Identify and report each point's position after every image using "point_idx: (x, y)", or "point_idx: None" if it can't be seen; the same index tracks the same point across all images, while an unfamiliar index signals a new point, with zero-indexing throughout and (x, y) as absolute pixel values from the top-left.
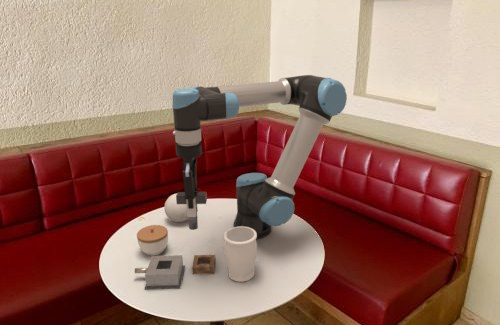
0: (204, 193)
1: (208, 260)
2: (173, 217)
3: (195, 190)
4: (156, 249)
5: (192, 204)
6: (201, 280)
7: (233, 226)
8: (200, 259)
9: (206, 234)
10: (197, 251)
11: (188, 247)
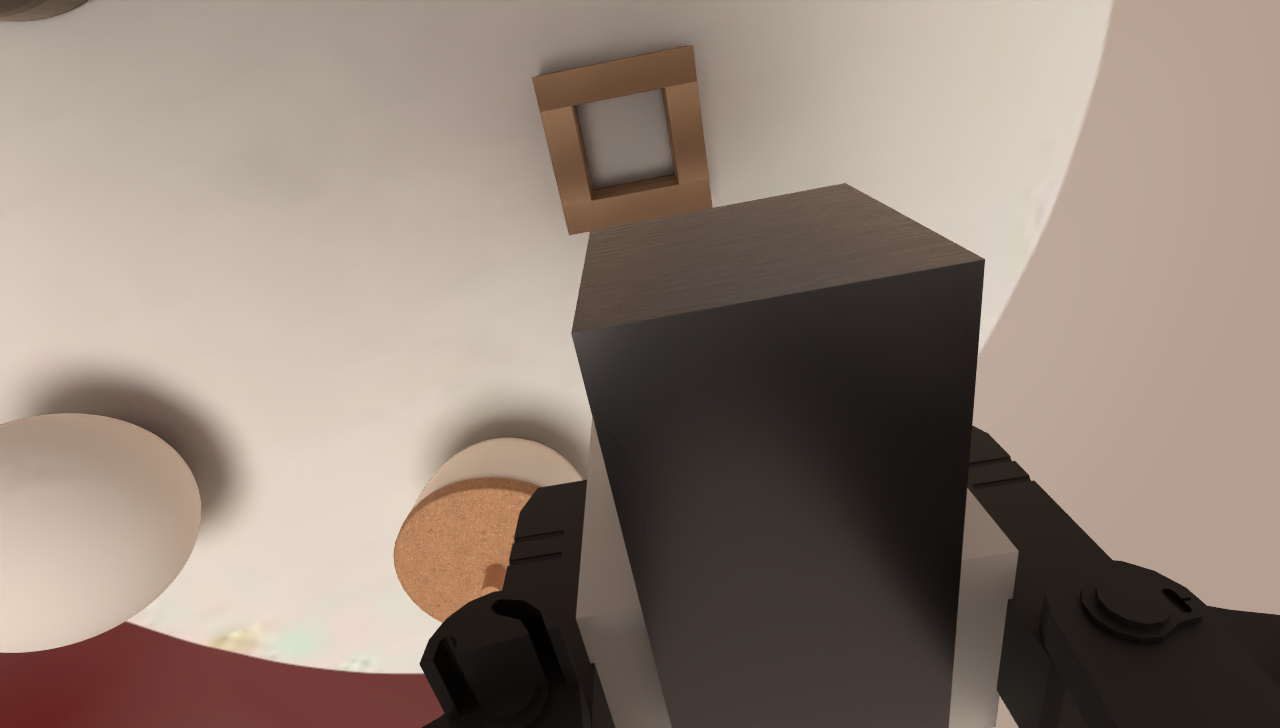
0: (750, 365)
1: (577, 121)
2: (194, 513)
3: (585, 695)
4: (576, 476)
5: (1031, 486)
6: (765, 118)
7: (26, 9)
8: (588, 181)
9: (227, 237)
10: (457, 239)
11: (429, 311)
